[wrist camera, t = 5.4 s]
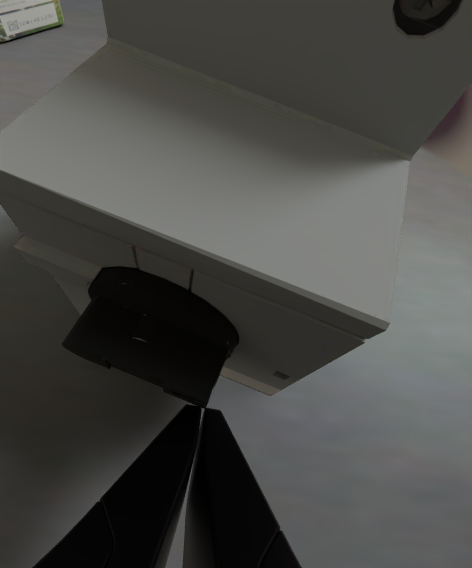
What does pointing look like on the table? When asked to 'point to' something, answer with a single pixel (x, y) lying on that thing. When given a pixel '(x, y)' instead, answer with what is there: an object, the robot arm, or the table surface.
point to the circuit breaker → (233, 180)
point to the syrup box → (28, 17)
